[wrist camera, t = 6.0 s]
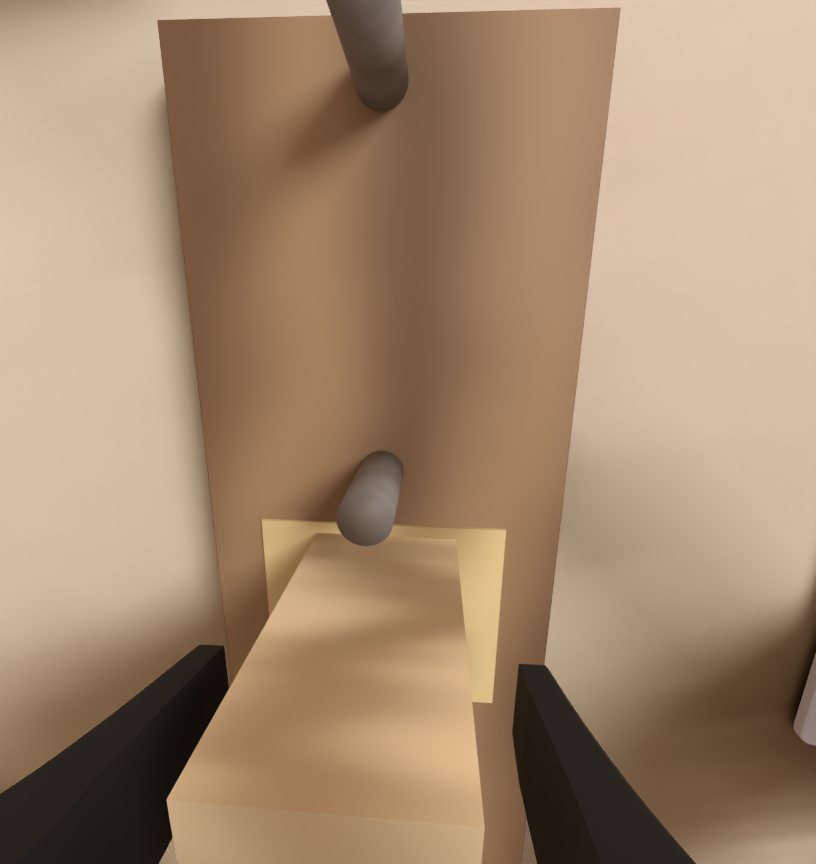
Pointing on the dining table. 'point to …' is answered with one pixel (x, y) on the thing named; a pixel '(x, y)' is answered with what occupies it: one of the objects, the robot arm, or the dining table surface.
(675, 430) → the dining table surface
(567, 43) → the peg board
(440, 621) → the light brown rectangular slab
